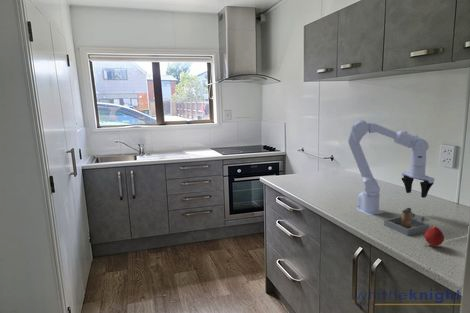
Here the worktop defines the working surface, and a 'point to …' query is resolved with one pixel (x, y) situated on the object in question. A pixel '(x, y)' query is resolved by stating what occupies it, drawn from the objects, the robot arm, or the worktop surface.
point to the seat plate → (418, 218)
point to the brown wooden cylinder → (406, 218)
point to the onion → (434, 236)
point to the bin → (418, 229)
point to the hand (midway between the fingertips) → (416, 194)
